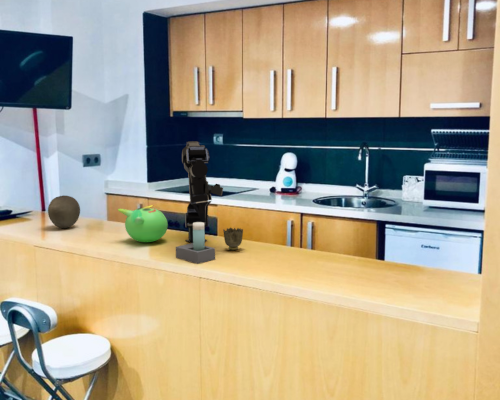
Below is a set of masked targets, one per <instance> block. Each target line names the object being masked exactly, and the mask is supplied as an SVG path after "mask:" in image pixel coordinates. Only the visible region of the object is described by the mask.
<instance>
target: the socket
mask: <svg viewBox="0 0 500 400" xmlns="http://www.w3.org/2000/svg"><path fill="white" fill-rule="evenodd" d="M175 258H176V259H179V260H182V261H187V262H190V263H194V264H196V265H197V264H203V263H205V262H206V263H207V262H209V261H215V260H216V248H215V247H211V246H206V245H205V250H201V251H195V250H193V243H191V242H189V243H187V244H186V243H185V244H183V245H182V244H181V245H179V246H175Z"/></svg>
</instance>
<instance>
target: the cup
mask: <svg viewBox="0 0 500 400" xmlns="http://www.w3.org/2000/svg"><path fill="white" fill-rule="evenodd" d="M222 230H223V231H222V232H223V238H224V242H225V245H226V246H227V247H228V250H229V251H230V252H231V251H232V252H235V251H238V250H239V246H241V244H242V242H243V233H244V229H243V228H239V227H237V228H236V227H234V228H232V227H229V228H228V227H227V228H226V229H225V228H223V229H222Z"/></svg>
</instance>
